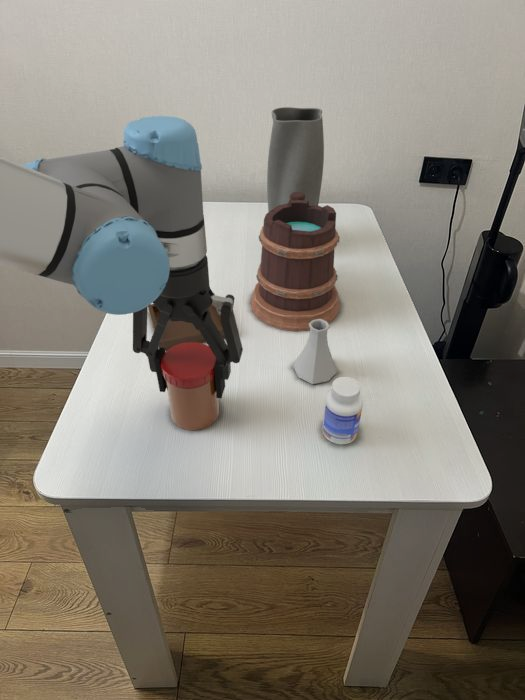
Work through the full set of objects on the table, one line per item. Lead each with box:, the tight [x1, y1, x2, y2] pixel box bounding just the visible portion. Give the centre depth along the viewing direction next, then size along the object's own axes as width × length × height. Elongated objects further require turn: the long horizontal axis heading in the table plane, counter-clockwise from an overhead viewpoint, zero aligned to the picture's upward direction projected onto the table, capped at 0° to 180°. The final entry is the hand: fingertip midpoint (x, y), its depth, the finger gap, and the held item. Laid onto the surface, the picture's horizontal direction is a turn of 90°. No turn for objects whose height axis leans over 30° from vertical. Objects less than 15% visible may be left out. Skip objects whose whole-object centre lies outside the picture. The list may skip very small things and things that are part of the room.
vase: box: [266, 106, 325, 213], centre depth 111 cm, size 12×12×30 cm
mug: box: [249, 192, 341, 332], centre depth 96 cm, size 18×23×20 cm
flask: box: [292, 319, 338, 385], centre depth 82 cm, size 7×7×10 cm
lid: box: [161, 342, 216, 388], centre depth 71 cm, size 8×8×2 cm
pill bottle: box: [321, 376, 364, 445], centre depth 72 cm, size 5×5×10 cm
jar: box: [165, 376, 220, 431], centre depth 74 cm, size 8×8×10 cm
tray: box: [148, 293, 225, 351], centre depth 95 cm, size 14×13×2 cm
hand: (192, 388), depth 74 cm, fingers closed on lid, 8 cm apart
